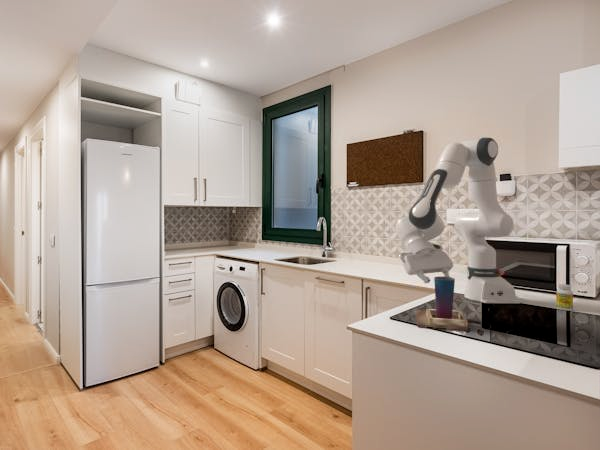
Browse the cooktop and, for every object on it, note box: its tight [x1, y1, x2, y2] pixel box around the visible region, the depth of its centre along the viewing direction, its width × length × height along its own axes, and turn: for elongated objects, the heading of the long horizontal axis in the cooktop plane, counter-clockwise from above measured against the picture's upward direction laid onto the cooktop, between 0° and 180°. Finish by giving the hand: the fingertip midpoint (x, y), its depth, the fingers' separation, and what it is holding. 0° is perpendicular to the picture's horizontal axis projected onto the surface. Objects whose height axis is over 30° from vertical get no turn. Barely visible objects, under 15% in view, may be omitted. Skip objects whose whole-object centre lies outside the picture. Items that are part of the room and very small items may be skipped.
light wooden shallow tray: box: [413, 308, 469, 332], centre depth 128 cm, size 16×18×3 cm
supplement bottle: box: [555, 283, 574, 311], centre depth 141 cm, size 5×5×10 cm
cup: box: [433, 276, 456, 319], centre depth 126 cm, size 7×7×15 cm
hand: (438, 281), depth 129 cm, fingers open, 8 cm apart
